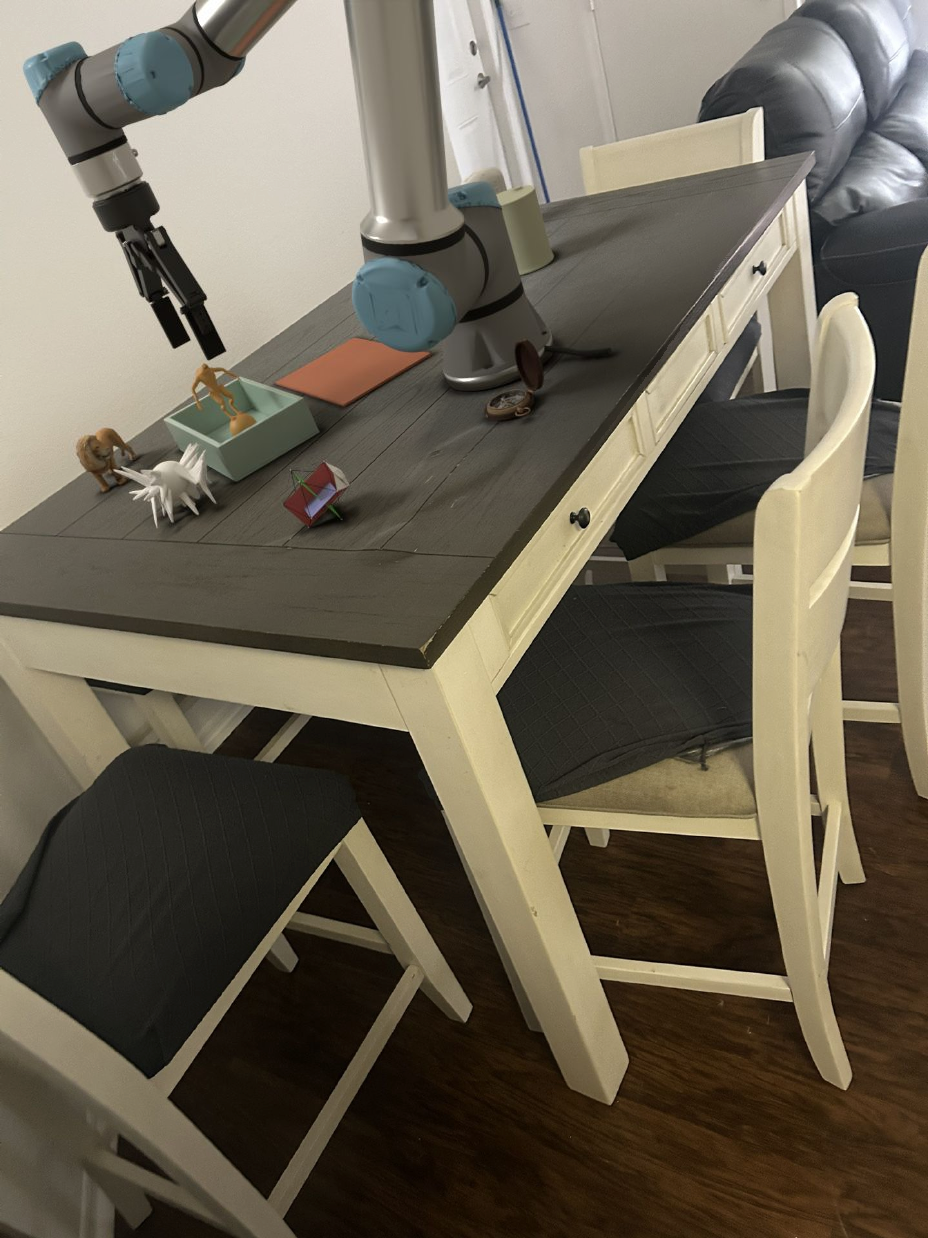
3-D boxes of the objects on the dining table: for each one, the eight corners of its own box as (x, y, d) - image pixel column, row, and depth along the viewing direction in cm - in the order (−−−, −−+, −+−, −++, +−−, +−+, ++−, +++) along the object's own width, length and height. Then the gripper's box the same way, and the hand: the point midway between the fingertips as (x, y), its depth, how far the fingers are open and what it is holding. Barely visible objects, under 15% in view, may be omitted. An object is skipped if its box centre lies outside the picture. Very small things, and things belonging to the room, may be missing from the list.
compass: (478, 414, 115) (459, 360, 111) (533, 386, 116) (516, 332, 112) (504, 432, 109) (486, 375, 104) (562, 403, 110) (546, 345, 106)
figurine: (238, 455, 130) (198, 377, 123) (213, 454, 133) (172, 378, 127) (278, 424, 134) (240, 348, 128) (252, 424, 138) (214, 349, 131)
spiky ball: (229, 520, 117) (205, 460, 112) (136, 550, 116) (107, 491, 111) (223, 485, 126) (201, 428, 121) (137, 512, 125) (111, 457, 120)
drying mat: (431, 355, 138) (430, 352, 137) (344, 406, 132) (343, 404, 132) (355, 339, 156) (354, 337, 156) (276, 384, 150) (275, 382, 150)
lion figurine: (132, 489, 134) (99, 434, 129) (98, 503, 134) (63, 449, 129) (139, 451, 146) (109, 400, 141) (108, 464, 146) (77, 413, 141)
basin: (319, 432, 128) (303, 397, 125) (236, 482, 123) (218, 447, 120) (255, 407, 145) (240, 376, 142) (180, 450, 140) (163, 419, 137)
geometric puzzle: (284, 534, 101) (300, 465, 98) (271, 512, 107) (285, 446, 104) (346, 543, 104) (363, 475, 101) (330, 521, 110) (346, 456, 107)
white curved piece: (505, 228, 181) (486, 161, 174) (521, 226, 178) (502, 159, 171) (469, 250, 177) (449, 183, 170) (485, 249, 173) (464, 181, 167)
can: (563, 250, 157) (544, 177, 150) (538, 273, 152) (517, 198, 145) (517, 257, 163) (497, 187, 156) (492, 279, 157) (470, 207, 150)
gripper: (177, 174, 106) (258, 347, 118) (116, 180, 125) (191, 328, 137) (119, 200, 103) (207, 374, 115) (65, 202, 122) (146, 351, 134)
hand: (198, 350), depth 126 cm, fingers open, 13 cm apart
